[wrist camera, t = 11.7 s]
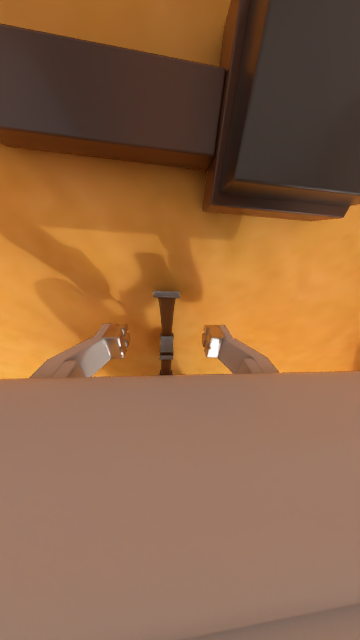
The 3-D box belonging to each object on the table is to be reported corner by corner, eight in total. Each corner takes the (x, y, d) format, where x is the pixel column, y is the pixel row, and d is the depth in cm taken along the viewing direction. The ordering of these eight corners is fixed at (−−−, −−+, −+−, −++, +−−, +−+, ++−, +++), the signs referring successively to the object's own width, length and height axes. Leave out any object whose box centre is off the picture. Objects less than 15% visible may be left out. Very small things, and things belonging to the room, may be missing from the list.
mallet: (389, 62, 5) (650, -147, 2) (311, 221, 8) (388, 213, 5) (-107, -51, 4) (-989, -969, 1) (10, 193, 7) (-111, 161, 4)
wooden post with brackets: (157, 370, 14) (152, 404, 9) (157, 293, 12) (152, 290, 8) (174, 370, 14) (177, 403, 9) (176, 294, 13) (181, 291, 8)
